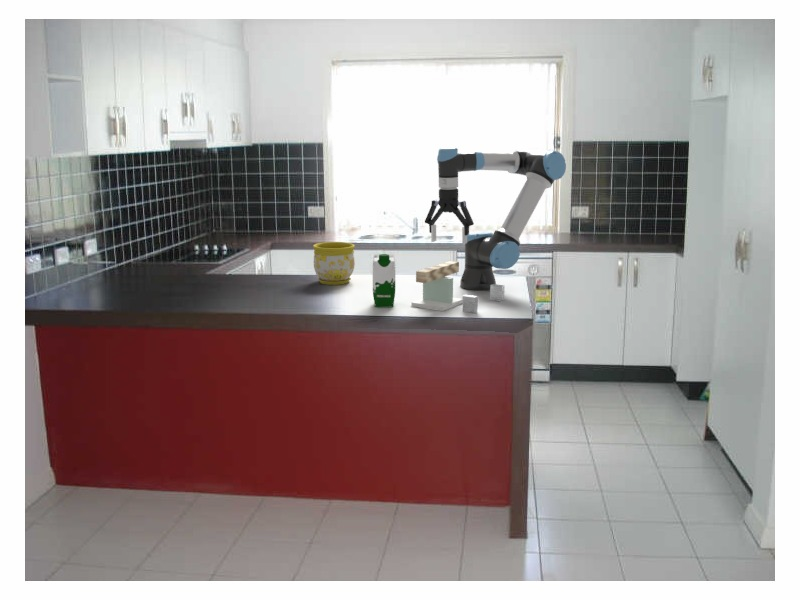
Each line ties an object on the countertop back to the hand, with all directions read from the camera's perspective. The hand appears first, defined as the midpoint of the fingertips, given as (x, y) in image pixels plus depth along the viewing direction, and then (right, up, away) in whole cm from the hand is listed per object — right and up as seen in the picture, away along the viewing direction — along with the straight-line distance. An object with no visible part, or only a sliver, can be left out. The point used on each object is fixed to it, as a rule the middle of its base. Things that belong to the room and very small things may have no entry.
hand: (449, 242), depth 325 cm
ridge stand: (-5, -24, -4) cm, 25 cm away
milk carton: (-25, -25, -5) cm, 36 cm away
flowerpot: (-48, -15, +37) cm, 62 cm away
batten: (-5, -14, -6) cm, 16 cm away
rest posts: (+13, -25, -6) cm, 29 cm away
